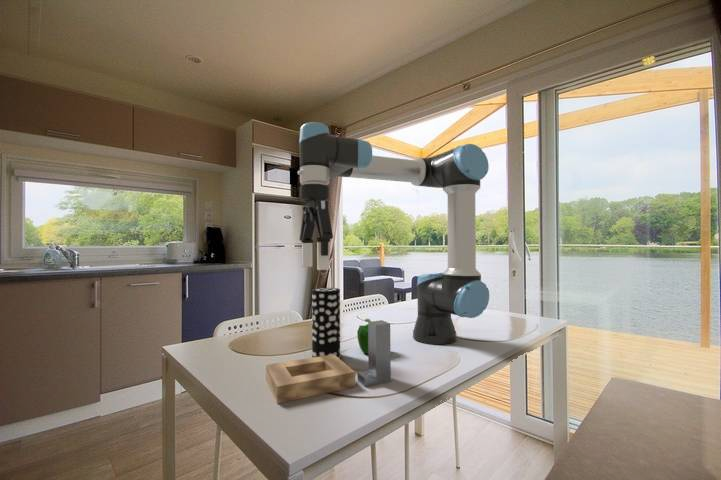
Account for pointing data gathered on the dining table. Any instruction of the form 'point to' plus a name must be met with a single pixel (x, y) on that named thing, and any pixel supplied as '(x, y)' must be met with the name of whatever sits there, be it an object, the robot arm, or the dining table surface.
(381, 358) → the bracket
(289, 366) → the wooden rectangular frame
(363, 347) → the bell pepper
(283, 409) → the dining table surface
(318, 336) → the white-spotted black cylinder
